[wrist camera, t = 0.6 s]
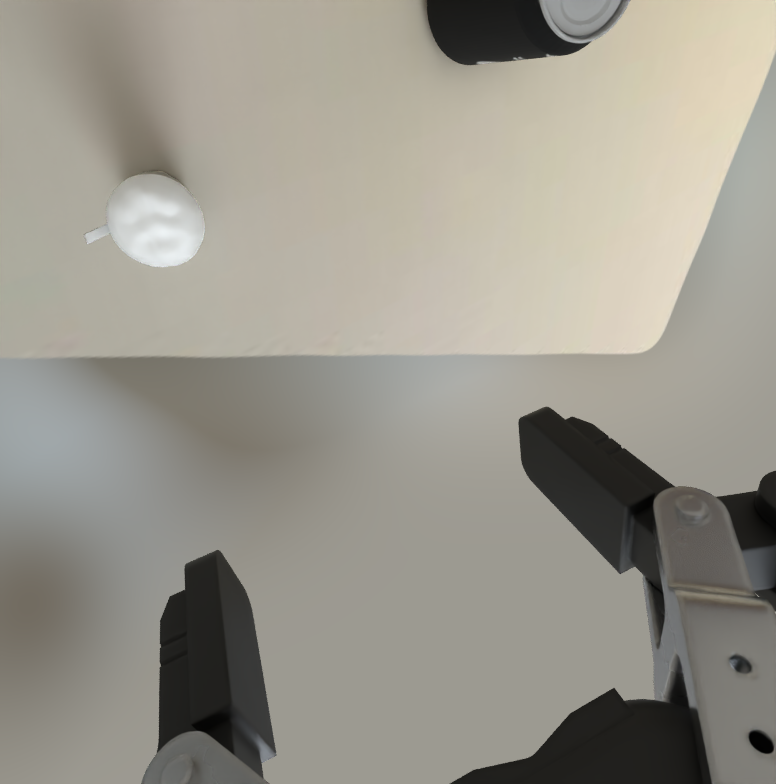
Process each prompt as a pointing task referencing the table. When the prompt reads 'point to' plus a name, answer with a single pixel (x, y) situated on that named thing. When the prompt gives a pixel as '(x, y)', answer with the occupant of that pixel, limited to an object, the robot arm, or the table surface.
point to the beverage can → (518, 27)
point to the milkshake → (153, 220)
